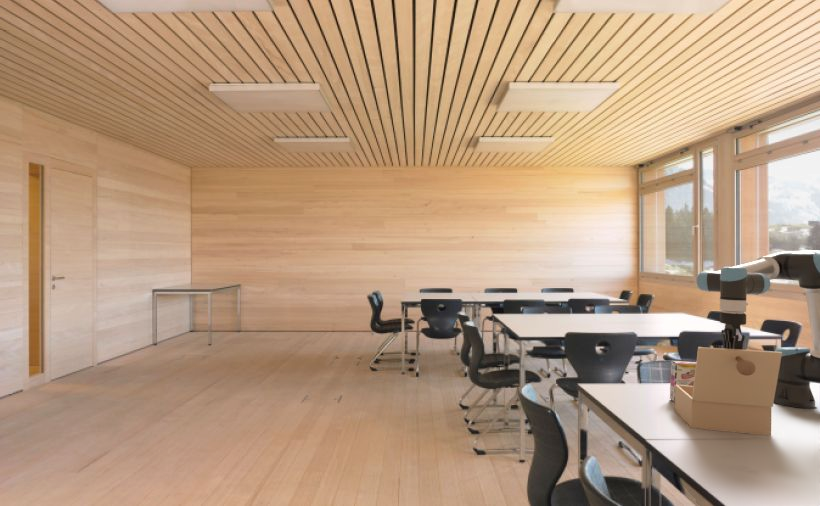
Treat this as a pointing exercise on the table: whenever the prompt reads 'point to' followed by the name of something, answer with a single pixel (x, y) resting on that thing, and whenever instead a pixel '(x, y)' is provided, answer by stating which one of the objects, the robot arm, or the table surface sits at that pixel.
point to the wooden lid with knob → (736, 376)
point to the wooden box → (721, 414)
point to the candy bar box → (681, 375)
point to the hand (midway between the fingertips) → (731, 381)
